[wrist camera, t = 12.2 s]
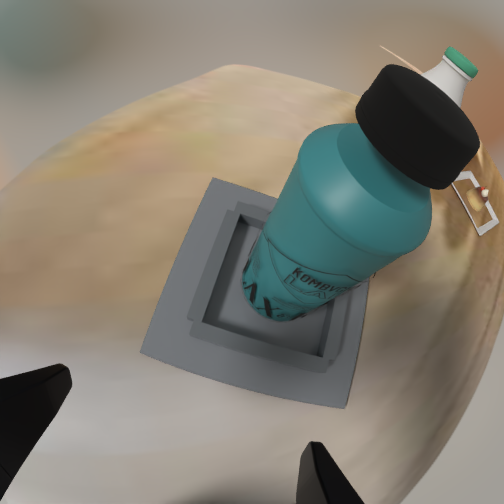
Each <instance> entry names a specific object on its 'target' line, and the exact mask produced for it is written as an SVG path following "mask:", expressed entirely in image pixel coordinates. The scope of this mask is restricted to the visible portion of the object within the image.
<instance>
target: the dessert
mask: <svg viewBox="0 0 504 504" xmlns="http://www.w3.org/2000/svg"><path fill="white" fill-rule="evenodd" d="M467 178H470V179H471V180H472V182H473V184H474V185H475V187H476V188H473V189H471V190H468V191H467V192H466V195H467V198H468V201H469V203H470V204H471V206H472V207H473V208H474V210H476V211H477V212H480V211H481V209H482V208H483V207H484V205H486V207H487V208H488V210H489V212H490V214H491V216H492V218H493V220H491V221H490V222H488V223H486V224H484V225H483V226H481V227H479V228H478V229H477V227H476V225H475V223H474V221H473V219H472V217H471V215H470V213H469V211H468V209H467V207H466V205H465V204H464V202H463V200H462V198H461V197H460V195H459V193H458V191H457V190H456V188H455V186H454V185H453V183H451V185H452V186H453V188H454V190H455V192H456V193H457V195H458V197H459V198H460V200H461V202H462V204H463V206H464V207H465V209H466V211H467V213H468V215H469V217H470V219H471V221H472V223H473V225H474V227H475V229H476V231H477V233H478V234H479V235H480V236H481V235H482V234H484V233H485V232H487V231H488V230H490V229H491V228H493V227H494V226H495V225H497V224H498V223H499V221H498V219H497V217H496V215H495V213H494V211H493V209H492V207H491V205H490V203H489V201H488V197H487V195H488V190H485V188H484V187H480V185H479V184H478V182H477V180H476V179H475V177H474V175H473V174H472V172H471V171H464V172H460V175H459V176H458V178H456V180H455V181H457V180H462V179H467Z"/></svg>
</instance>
